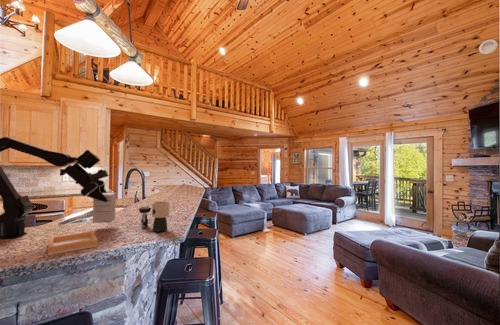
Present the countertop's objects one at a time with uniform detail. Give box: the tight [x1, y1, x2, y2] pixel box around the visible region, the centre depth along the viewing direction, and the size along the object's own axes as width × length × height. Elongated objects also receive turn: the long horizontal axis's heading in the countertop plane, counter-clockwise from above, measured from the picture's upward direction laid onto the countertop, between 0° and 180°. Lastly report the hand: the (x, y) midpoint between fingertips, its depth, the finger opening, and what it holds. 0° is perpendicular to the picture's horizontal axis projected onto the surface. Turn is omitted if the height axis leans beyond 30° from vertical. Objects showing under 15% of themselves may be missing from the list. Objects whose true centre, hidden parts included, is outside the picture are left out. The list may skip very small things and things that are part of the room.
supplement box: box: [92, 192, 117, 224], centre depth 103 cm, size 7×7×13 cm
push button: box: [138, 205, 152, 229], centre depth 107 cm, size 7×5×10 cm
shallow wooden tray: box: [47, 230, 99, 256], centre depth 82 cm, size 13×13×2 cm
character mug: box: [151, 200, 170, 233], centre depth 102 cm, size 11×7×13 cm, turn 24°
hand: (108, 200), depth 104 cm, fingers closed on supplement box, 7 cm apart
